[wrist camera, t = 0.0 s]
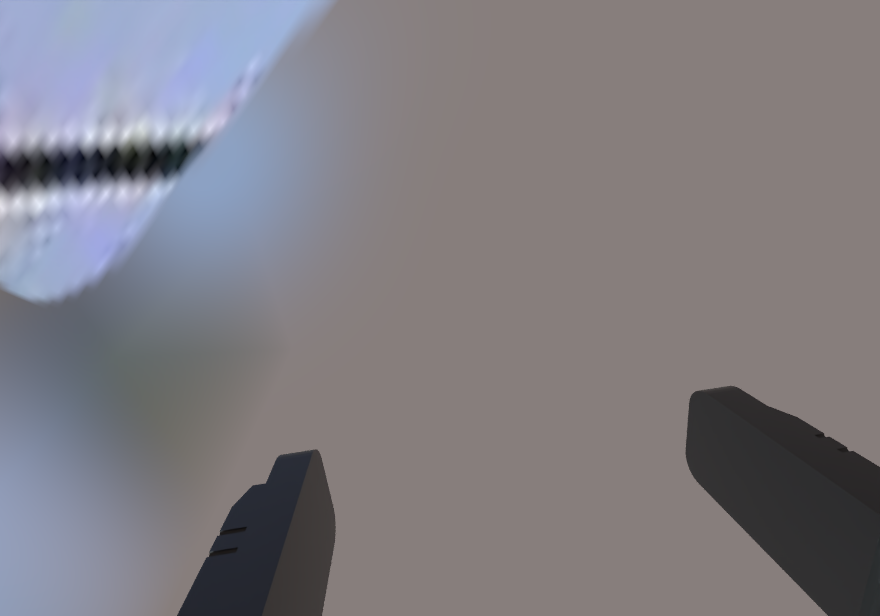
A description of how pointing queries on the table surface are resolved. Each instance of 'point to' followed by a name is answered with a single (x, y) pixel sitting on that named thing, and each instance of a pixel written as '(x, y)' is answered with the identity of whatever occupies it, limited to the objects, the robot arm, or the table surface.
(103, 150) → the table surface
